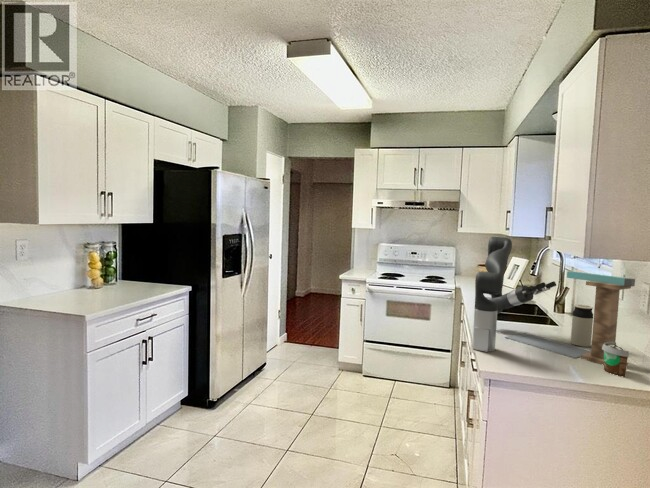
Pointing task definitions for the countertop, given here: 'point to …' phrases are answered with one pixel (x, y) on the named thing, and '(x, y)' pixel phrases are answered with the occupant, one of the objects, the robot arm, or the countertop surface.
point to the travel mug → (582, 325)
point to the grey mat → (549, 345)
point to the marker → (601, 278)
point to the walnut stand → (603, 318)
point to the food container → (615, 359)
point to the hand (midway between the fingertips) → (550, 283)
